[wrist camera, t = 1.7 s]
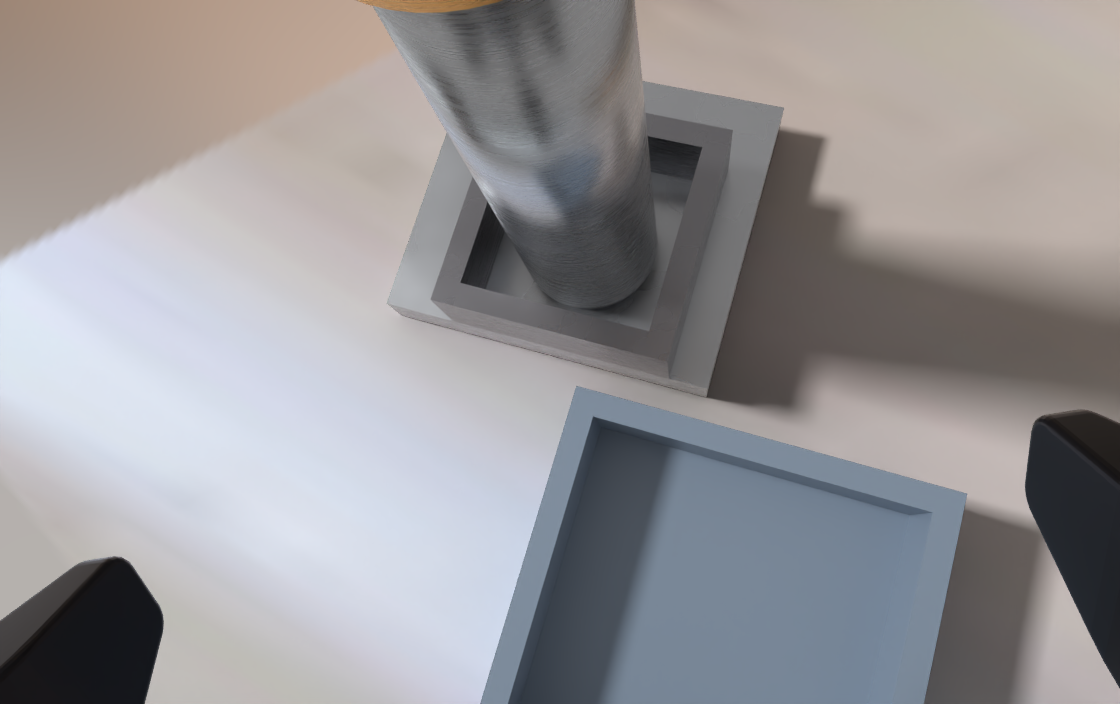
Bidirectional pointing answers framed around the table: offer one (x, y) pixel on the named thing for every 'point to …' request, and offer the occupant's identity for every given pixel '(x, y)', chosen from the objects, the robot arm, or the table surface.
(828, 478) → the tray
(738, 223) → the square socket base
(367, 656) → the table surface
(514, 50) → the stop pin
